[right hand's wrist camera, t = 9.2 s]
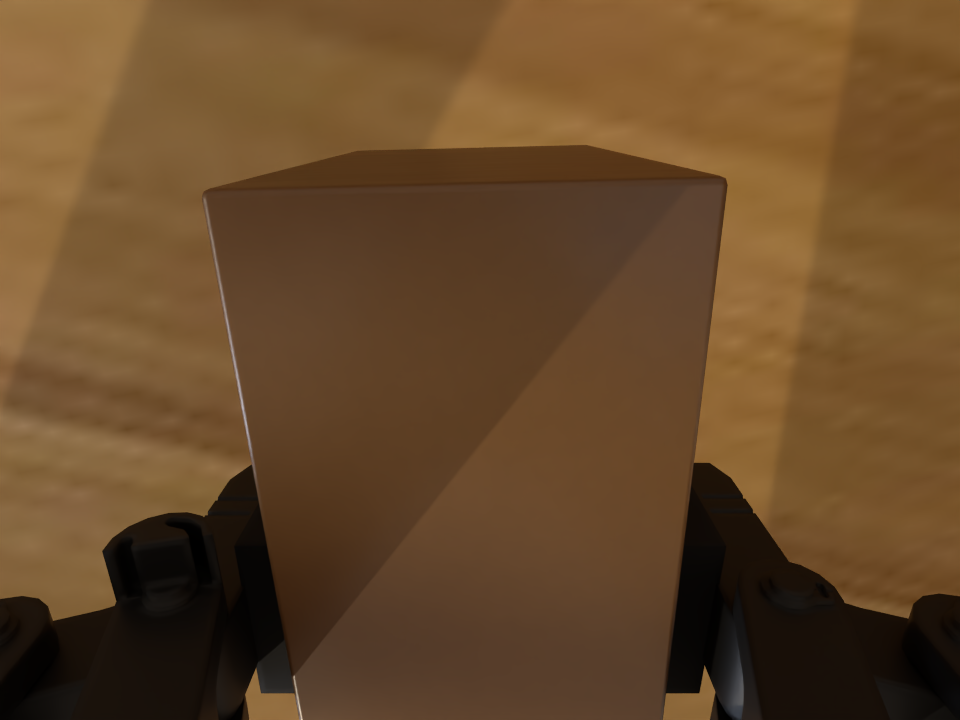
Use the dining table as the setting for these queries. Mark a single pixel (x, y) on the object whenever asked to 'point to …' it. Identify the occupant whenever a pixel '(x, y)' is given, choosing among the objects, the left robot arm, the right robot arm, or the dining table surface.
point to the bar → (472, 421)
